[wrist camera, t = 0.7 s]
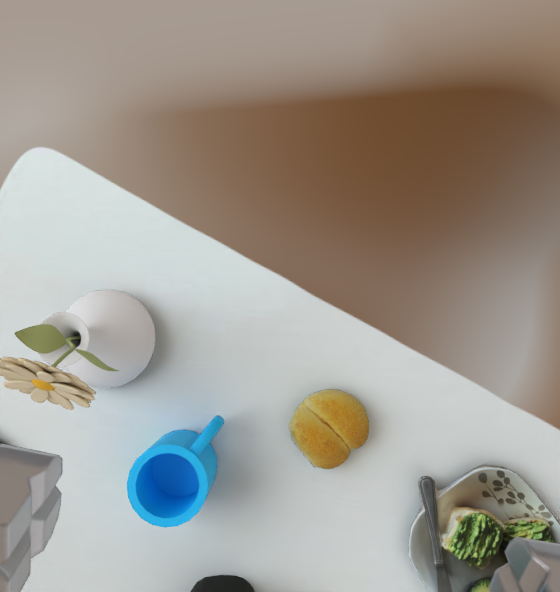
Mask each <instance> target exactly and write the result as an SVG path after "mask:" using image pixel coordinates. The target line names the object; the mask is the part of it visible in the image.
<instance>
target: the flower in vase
mask: <svg viewBox="0 0 560 592" xmlns="http://www.w3.org/2000/svg"><path fill="white" fill-rule="evenodd" d="M15 335H16V336H17V337H18V339H19V340H20V341H22V342H23V343H24V344H25V345H26V346H28V347H29V348H31V349H32V350H34V351H36V352H38V354H39V355H40V357H41V358H42V359H43V360H44V361H46V362H47V363H49V364H51V365H52V366H48V365H46V364H44V363H42V362H39V361H33V362H32V361H30V360H28V359H24V358H18V359H15V358H12V357H3V358H2V359H1V358H0V376H3V377H4V378H5V379H6V380H9V381H7V382H5V383H4V384H3V385H4V386H5V387H7V388H9V389H18V390H19V391H20V392H22V393H27V394H29V393H31V399H32V400H33V401H36V402H39V403H42V402H44V401H46V400H47V399H48V400H49V401H50V402H51V403H53V404H60V405H61V406H63V407H64V408H66V409H69V410H73V409H74V407H73V405H72V403H71V402H70V401H69V399H70V400H71V401H73V402H75V403H77V404H78V405H80V406H82V407H87V408H89V407H90V404H89V403H91V400H95V398H94V396H93V395H92V394H96V392H95V391H94V390H93V389H92V388H90V387H88V385H89V386H92V387H97V388H113V387H118V386H121V385H124V384H126V383H128V382H130V381H132V380H133V379H134V378H136V377H137V376H138V375H139V374H140V373H141V372H142V371H143V370H144V369H145V368H146V366H147V365H148V363H149V361H150V359H151V357H152V354H153V351H154V347H155V328H154V324H153V321H152V318H151V316H150V314H149V313H148V311H147V310H146V308H145V307H144V306H143V305H142V304H141V303H140V302H139V301H138V300H137V299H135V298H134V297H132V296H131V295H128V294H126V293H124V292H121V291H116V290H99V291H94V292H91V293H89V294H86V295H84V296H82V297H81V298H79V299H78V300H76V301H75V302H74V303H73V304H72V305H71V306H70V307H69V308H68V310H67V311H66V312H58V313H54V314H52V315H50V316H48V317H47V318H45V319H44V320H43V321H42V322H41V324H40V325H36V326H32V327H29V328H26V329H23V330H20V331H18V332H15ZM56 366H59V367H63V366H65V368H66V369H67V370H68V372H69V373H65V372H63V371H62V370H60V369H58V368H56Z"/></svg>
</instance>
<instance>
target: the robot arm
mask: <svg viewBox="0 0 560 592" xmlns="http://www.w3.org/2000/svg"><path fill="white" fill-rule="evenodd" d="M61 475H62V458H61V457H60V456H59V455H56V454H51V453H46V452H42V451H37V450H32V449H27V448H22V447H17V446H12V445H7V444H0V592H20V591H21V589H22V588H23V586H24V584H25V582H26V581H27V579H28V577H29V575H30V565H31V558H32V557H34V556H36V555H37V554H39V553H40V552H42V551H44V549H45V547H46V545H47V543H48V541H49V539H50V538H51V536H52V533H53V530H54V528H55V525H56V522H57V519H58V516H59V511H60V506H61V492H60V491H59V489H58V488H57V487H56V483H57V481H58V480H59V478H60V476H61ZM505 555H506V557H507V560H508V563H506V564H504V565H503V566H501V567H499V568H498V569H496V570H495V573H494V575H493V577H492V580H491V582H490V588H489V592H560V544H557V543H551V542H545V541H539V540H534V539H528V538H522V537H515V538H514V539H512V540H511V541H510V542H509V544H508V546H507V548H506V550H505Z"/></svg>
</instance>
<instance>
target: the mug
mask: <svg viewBox="0 0 560 592" xmlns="http://www.w3.org/2000/svg"><path fill="white" fill-rule="evenodd" d="M223 424H224V419H223V418H222V417H221V416H215V417H214V418H213V420H212V421H211V422H210V423H209V425H208V426H207V427H206V428H205V429H204V431H203V432H202V433H201V434H198V433H196V432H193V431H189V430H177V431H172V432H170V433H168V434H166V435H164V436H163V437H161V438H160V439H159V440H158V441H157V442H156V443H155V444H153V445H152V446H151V447H150V448H149V449H148V450H147V451H145V452H144V453H143V454H142V455H141V456H140V457H139V458H138V459H137V460H136V461H135V463H134V465H133V466H132V468H131V470H130V473H129V477H128V481H127V490H128V498H129V500H130V503H131V505H132V507H133V509H134V510H135V511H136V513H137V514H138V515H139V516H140V517H141V518H142V519H144V520H145V521H147V522H149V523H150V524H152V525H156V526H161V527H172V526H178V525H180V524H183V523H185V522H187V521H189V520H190V519H191V518H192V517H193V516H194V515H196V514H197V513H198V512H199V510H200V508H201V507H202V505H203V503H204V501H205V499H206V497H207V495H208V492H209V490H210V488H211V486H212V483H213V481H214V479H215V475H216V471H217V458H216V454H215V452H214V449H213V447H212V445H211V444H210V443H209V442H210V441H211V440H212V438H213V437H214V436H215V435H216V433H217V432H218V431H219V429H220V428H221V427H222V425H223Z"/></svg>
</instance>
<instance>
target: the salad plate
mask: <svg viewBox="0 0 560 592" xmlns="http://www.w3.org/2000/svg"><path fill="white" fill-rule="evenodd" d="M419 490H420V495H421V502H422V505H421V508H420V510H419V512H418V514H417V516H416V517H415V519H414V521H413V523H412V525H411V531H410V537H409V547H408V552H409V556H410V560H411V562H412V564H413V566H414V568H415V570H416V572H417V573H418V575H419V577H420V578H421V579H422V581H423V582H424V583H425V584H426V586H427V587H428V589H429V590H430V592H489V588H490V582H491V580H492V577H493V575H494V573H495V570H496V569H498V568H499V567H501V566H503V565H504V564H506V563H508V560H507V557H506V555H505V550H506V548H507V546H508V544H509V542H510V541H511V540H512V539H514V538H515V537H522V538H528V539H534V540H539V541H545V542H551V543H557V544H560V524H559V522H558V521H557V520H556V518H555V517H554V516H553V515H552V514H551V513H550V511H549V510H548V509H547V508H546V506H545V505H544V504H543V502H542V501H541V500H540V499H539V498H538V496H537V495H536V493H535V492H534V491H533V490H532V489H531V487H530V486H529V485H528V484H527V483H526V482H525V481H524V480H523V479H522V478H521V477H520V476H519V475H518V474H516V473H514V472H512V471H510V470H507V469H506V468H504V467H497V466H488V465H482V466H479V467H477V468H475V469H473V470H472V471H470V472H468V473H466V474H464V475H463V476H461V477H460V478H458V479H457V480H455V481H454V482H453V483H451V484H450V485H449V486H447V487H445V488H443V489H442V490H437V489H436V487H435V482H434V480H433V479H432V478H431V477H429V476H424V477H421V478H420V480H419Z"/></svg>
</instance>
